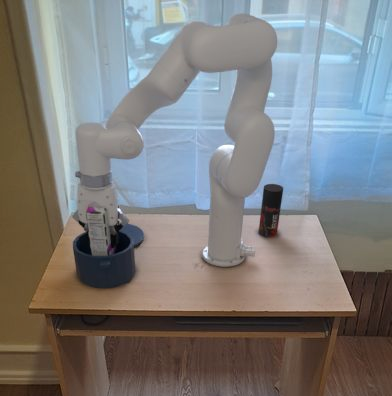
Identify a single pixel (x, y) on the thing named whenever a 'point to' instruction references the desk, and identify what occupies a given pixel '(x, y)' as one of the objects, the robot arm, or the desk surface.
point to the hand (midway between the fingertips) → (103, 243)
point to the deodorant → (270, 210)
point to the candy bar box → (99, 232)
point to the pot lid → (133, 233)
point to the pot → (105, 263)
